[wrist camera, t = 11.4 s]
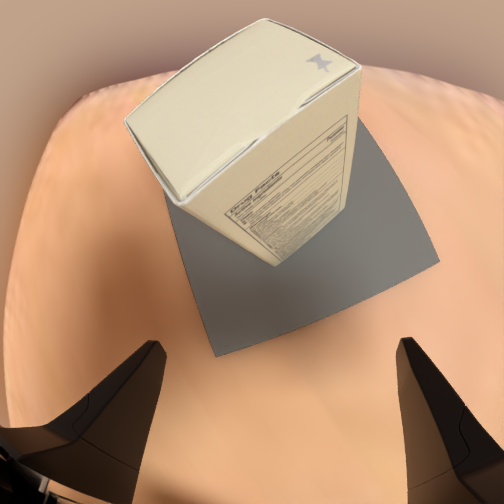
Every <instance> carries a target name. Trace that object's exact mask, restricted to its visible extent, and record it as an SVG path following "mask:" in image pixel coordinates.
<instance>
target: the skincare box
mask: <svg viewBox="0 0 504 504" xmlns="http://www.w3.org/2000/svg"><path fill="white" fill-rule="evenodd" d="M361 74H362V67H361V65H360V64H358V63H357V62H355V61H354V60H352V59H350V58H348V57H347V56H345V55H343V54H342V53H340V52H339V51H337V50H335V49H333V48H331V47H330V46H328V45H326V44H324V43H323V42H321V41H319V40H317V39H315V38H312V37H311V36H309V35H307V34H305V33H303V32H300V31H298V30H296V29H294V28H292V27H289V26H287V25H284V24H282V23H278V22H276V21H273V20H271V19H268V18H263V19H260V20H258V21H257V22H255V23H253V24H251V25H249V26H247V27H245V28H243V29H241V30H240V31H238V32H236V33H234V34H233V35H231V36H229V37H227V38H226V39H224V40H223V41H221V42H219V43H218V44H216V45H215V46H214V47H212V48H210V49H209V50H207V51H206V52H204V53H203V54H201V55H200V56H198V57H197V58H195V59H194V60H193V61H191V62H190V63H189V64H187V65H186V66H185V67H183V68H182V69H181V70H179V71H178V72H177V73H176V74H174V75H173V76H172V77H170V78H169V79H168V80H167V81H166V82H164V83H163V84H162V85H161V86H159V87H158V88H157V89H156V90H155V91H154V92H153V93H152V94H151V95H149V96H148V97H147V98H146V99H145V100H144V101H143V102H142V103H141V104H139V105H138V106H137V107H136V108H135V109H134V110H133V111H132V112H131V113H130V114H129V115H128V116H127V117H126V118H125V119H124V125H125V126H126V128H127V129H128V131H129V133H130V135H131V137H132V139H133V140H134V142H135V144H136V146H137V148H138V149H139V151H140V153H141V154H142V156H143V158H144V159H145V161H146V162H147V164H148V166H149V167H150V169H151V171H152V172H153V174H154V176H155V177H156V179H157V180H158V182H159V183H160V185H161V186H162V188H163V189H164V191H165V192H166V194H167V195H168V197H169V198H170V199H171V201H172V202H173V204H175V205H176V206H178V207H179V208H181V209H183V210H184V211H186V212H188V213H189V214H191V215H192V216H194V217H196V218H197V219H199V220H200V221H202V222H203V223H205V224H207V225H208V226H210V227H211V228H213V229H214V230H216V231H217V232H219V233H221V234H222V235H224V236H226V237H227V238H229V239H230V240H232V241H234V242H235V243H237V244H238V245H240V246H241V247H243V248H244V249H246V250H247V251H249V252H251V253H252V254H254V255H256V256H257V257H259V258H260V259H262V260H263V261H265V262H267V263H268V264H270V265H271V266H273V267H275V266H277V265H279V264H280V263H281V262H282V261H284V260H285V259H286V258H288V257H289V256H290V255H291V254H292V253H294V252H295V251H296V250H297V249H299V248H300V247H301V246H302V245H304V244H305V243H306V242H307V241H308V240H309V239H311V238H312V237H313V236H314V235H315V234H316V233H317V232H319V231H320V230H321V229H322V228H323V227H324V226H325V225H326V224H328V223H329V222H330V221H331V220H332V219H333V218H334V217H335V216H336V215H337V214H338V213H339V212H340V211H342V210H343V209H344V207H345V203H346V198H347V192H348V186H349V179H350V173H351V166H352V159H353V152H354V145H355V138H356V130H357V121H358V110H359V98H360V87H361Z"/></svg>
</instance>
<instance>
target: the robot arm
mask: <svg viewBox="0 0 504 504" xmlns="http://www.w3.org/2000/svg"><path fill="white" fill-rule="evenodd" d="M166 358H167V355H166V352H165V350H164V349H163V347H162V346H161V344H160V343H159V341H156V340H148V341H147V342H146V343H144V344H143V345H142V346H141V347H140V348H139V349H138V350H136V351H135V352H134V353H133V354H132V355H131V356H130V357H128V358H127V359H126V360H125V361H124V362H123V363H122V364H120V365H119V366H118V367H117V368H116V369H115V370H114V371H113V372H111V373H110V374H109V375H108V376H107V377H106V378H105V379H103V380H102V381H101V382H100V383H99V384H98V385H97V386H96V387H94V388H93V389H92V390H91V391H90V392H89V393H87V394H86V395H85V396H84V397H83V398H82V399H81V400H79V401H78V402H77V403H76V404H75V405H73V406H72V407H71V408H69V409H68V410H67V411H65V412H64V413H62V414H61V415H60V416H58V417H57V418H55V419H54V420H53V421H51V422H50V423H48V424H46V425H43V426H36V427H22V428H4V427H3V426H1V425H0V504H109V503H112V504H132V501H133V496H134V492H135V488H136V483H137V479H138V475H139V470H140V466H141V462H142V458H143V454H144V450H145V446H146V442H147V438H148V434H149V431H150V427H151V423H152V420H153V416H154V412H155V409H156V405H157V402H158V398H159V395H160V391H161V386H162V381H163V375H164V369H165V364H166ZM396 366H397V380H398V396H399V403H400V410H401V417H402V425H403V433H404V443H405V453H406V466H407V486H408V504H504V450H503V449H502V448H501V447H500V446H499V445H498V444H497V443H496V441H495V440H494V439H493V438H492V437H491V436H490V435H489V434H488V433H487V431H486V430H485V429H484V428H483V427H482V426H481V424H480V423H479V422H478V421H477V419H476V418H475V417H474V415H473V414H472V413H471V411H470V410H469V409H468V407H467V406H465V403H464V402H463V401H462V399H461V398H460V397H459V395H458V394H457V393H456V391H455V390H454V389H453V387H452V386H451V385H450V383H449V382H448V381H447V379H446V378H445V377H444V376H443V374H442V373H441V372H440V371H439V369H438V368H437V367H436V365H435V364H434V363H433V362H432V361H431V359H430V358H429V357H428V356H427V354H426V353H425V352H424V351H423V349H422V348H421V347H420V346H419V345H418V343H417V342H416V341H415V340H414V339H413V338H412V337H405V338H401V339H400V342H399V345H398V348H397V351H396Z"/></svg>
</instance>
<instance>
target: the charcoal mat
mask: <svg viewBox="0 0 504 504" xmlns="http://www.w3.org/2000/svg"><path fill="white" fill-rule="evenodd" d="M163 190H164V189H163ZM164 194H165V198H166V202H167V206H168V210H169V214H170V217H171V221H172V225H173V228H174V232H175V235H176V239H177V242H178V246H179V249H180V253H181V256H182V259H183V262H184V266H185V269H186V272H187V275H188V279H189V282H190V285H191V288H192V291H193V294H194V297H195V300H196V303H197V306H198V309H199V312H200V315H201V318H202V321H203V324H204V327H205V329H206V332H207V335H208V338H209V341H210V343H211V346H212V349H213V352H214V354H215V357H219V356H222V355H225V354H228V353H231V352H234V351H237V350H240V349H243V348H246V347H249V346H252V345H255V344H258V343H261V342H263V341H266V340H269V339H272V338H274V337H277V336H280V335H282V334H285V333H288V332H290V331H293V330H295V329H298V328H301V327H303V326H306V325H308V324H311V323H313V322H315V321H318V320H320V319H323V318H325V317H327V316H330V315H332V314H335V313H337V312H339V311H341V310H344V309H346V308H348V307H350V306H353V305H355V304H357V303H359V302H362V301H364V300H366V299H368V298H370V297H372V296H374V295H376V294H379V293H381V292H383V291H385V290H387V289H389V288H391V287H393V286H395V285H397V284H399V283H401V282H403V281H405V280H407V279H409V278H411V277H412V276H414V275H416V274H418V273H420V272H422V271H424V270H426V269H427V268H429V267H431V266H433V265H435V264H437V263H438V262H440V260H439V258H438V255H437V253H436V251H435V248H434V246H433V244H432V242H431V240H430V237H429V235H428V233H427V231H426V229H425V227H424V225H423V223H422V221H421V219H420V217H419V215H418V213H417V211H416V209H415V207H414V205H413V203H412V201H411V199H410V197H409V196H408V194H407V192H406V190H405V188H404V187H403V185H402V183H401V181H400V180H399V178H398V176H397V175H396V173H395V171H394V170H393V168H392V166H391V165H390V163H389V161H388V160H387V158H386V157H385V155H384V154H383V152H382V150H381V149H380V147H379V146H378V144H377V143H376V141H375V140H374V138H373V137H372V136H371V134H370V133H369V131H368V130H367V128H366V127H365V126H364V124H363V123H362V121H361V120H360V119H359V117H358V121H357V130H356V138H355V145H354V152H353V159H352V166H351V173H350V179H349V186H348V192H347V198H346V203H345V207H344V209H343V210H342V211H340V212H339V213H338V214H337V215H336V216H335V217H334V218H333V219H332V220H331V221H330V222H329V223H328V224H326V225H325V226H324V227H323V228H322V229H321V230H320V231H319V232H317V233H316V234H315V235H314V236H313V237H312V238H311V239H309V240H308V241H307V242H306V243H305V244H304V245H302V246H301V247H300V248H299V249H297V250H296V251H295V252H294V253H292V254H291V255H290V256H289V257H288V258H286V259H285V260H284V261H282V262H281V263H280V264H279V265H277V266H275V267H273V266H271V265H270V264H268V263H267V262H265V261H263V260H262V259H260V258H259V257H257V256H256V255H254V254H252V253H251V252H249V251H247V250H246V249H244V248H243V247H241V246H240V245H238V244H237V243H235V242H234V241H232V240H230V239H229V238H227V237H226V236H224V235H222V234H221V233H219V232H217V231H216V230H214V229H213V228H211V227H210V226H208V225H207V224H205V223H203V222H202V221H200V220H199V219H197V218H196V217H194V216H192V215H191V214H189V213H188V212H186V211H184V210H183V209H181V208H179V207H178V206H176V205H175V204H173V202H172V201H171V199H170V198H169V197H168V195H167V194H166V192H165V191H164Z"/></svg>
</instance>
